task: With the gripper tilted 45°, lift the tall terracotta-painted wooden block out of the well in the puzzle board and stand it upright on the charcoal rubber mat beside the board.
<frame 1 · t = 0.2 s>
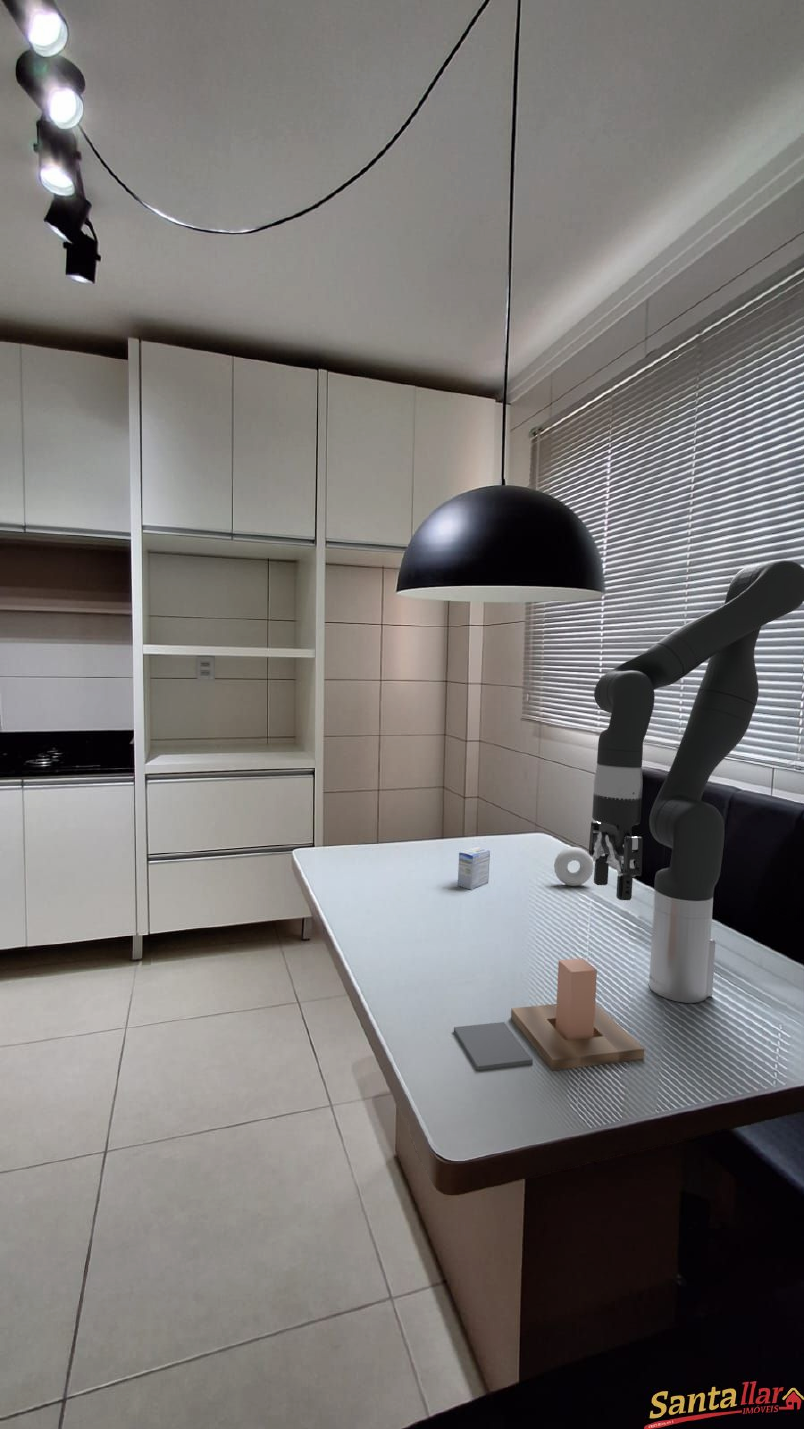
hand: (611, 891, 109), 18 cm above the table, tool pointing down, fingers open, 8 cm apart
block: (573, 1037, 99), resting in puzzle board
puzzle board: (574, 1037, 99), on the table
mat: (491, 1046, 95), on the table
donut: (572, 886, 170), on the table
medicine box: (473, 885, 169), on the table
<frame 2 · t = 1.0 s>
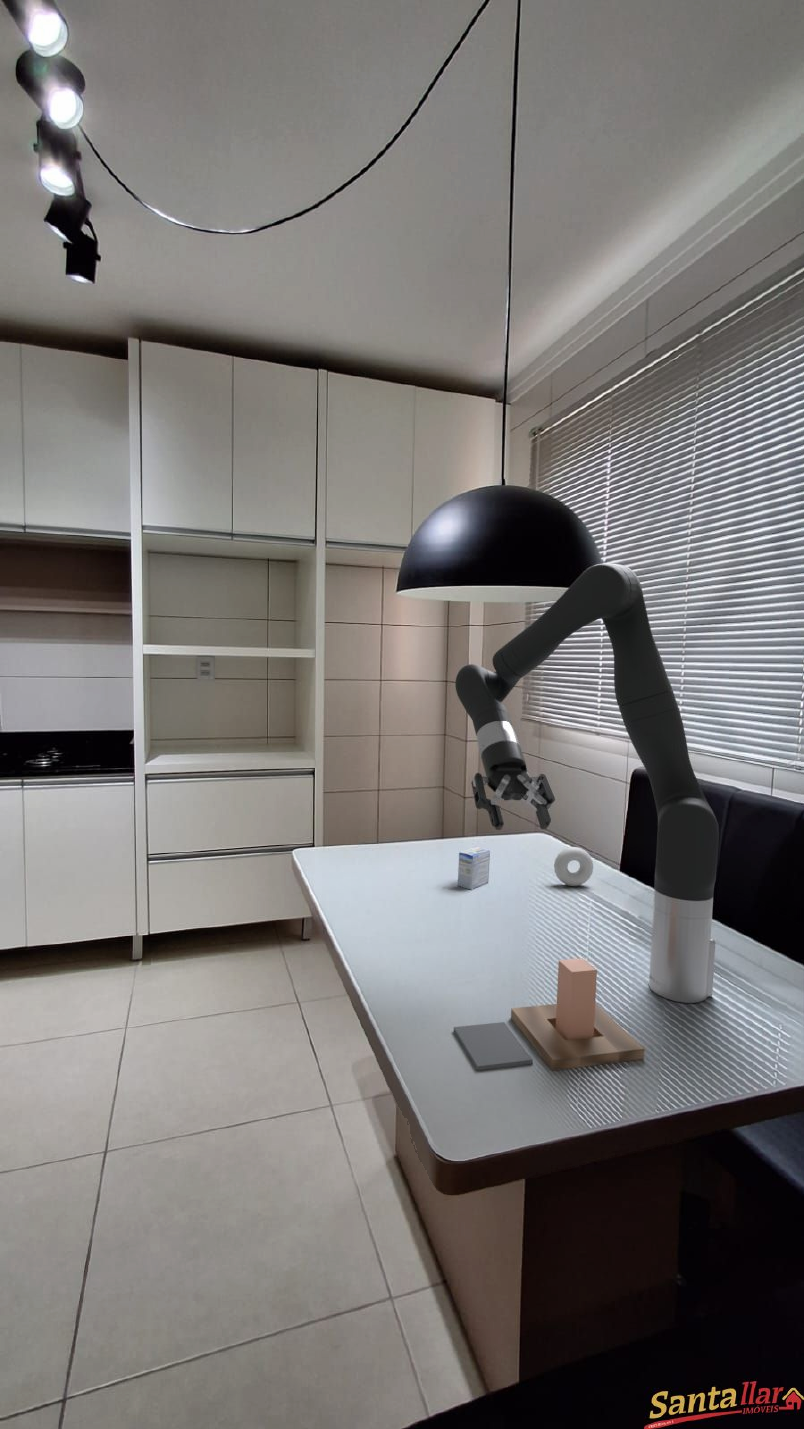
hand: (523, 827, 114), 27 cm above the table, tool tilted 45°, fingers open, 8 cm apart
nothing on the table moved.
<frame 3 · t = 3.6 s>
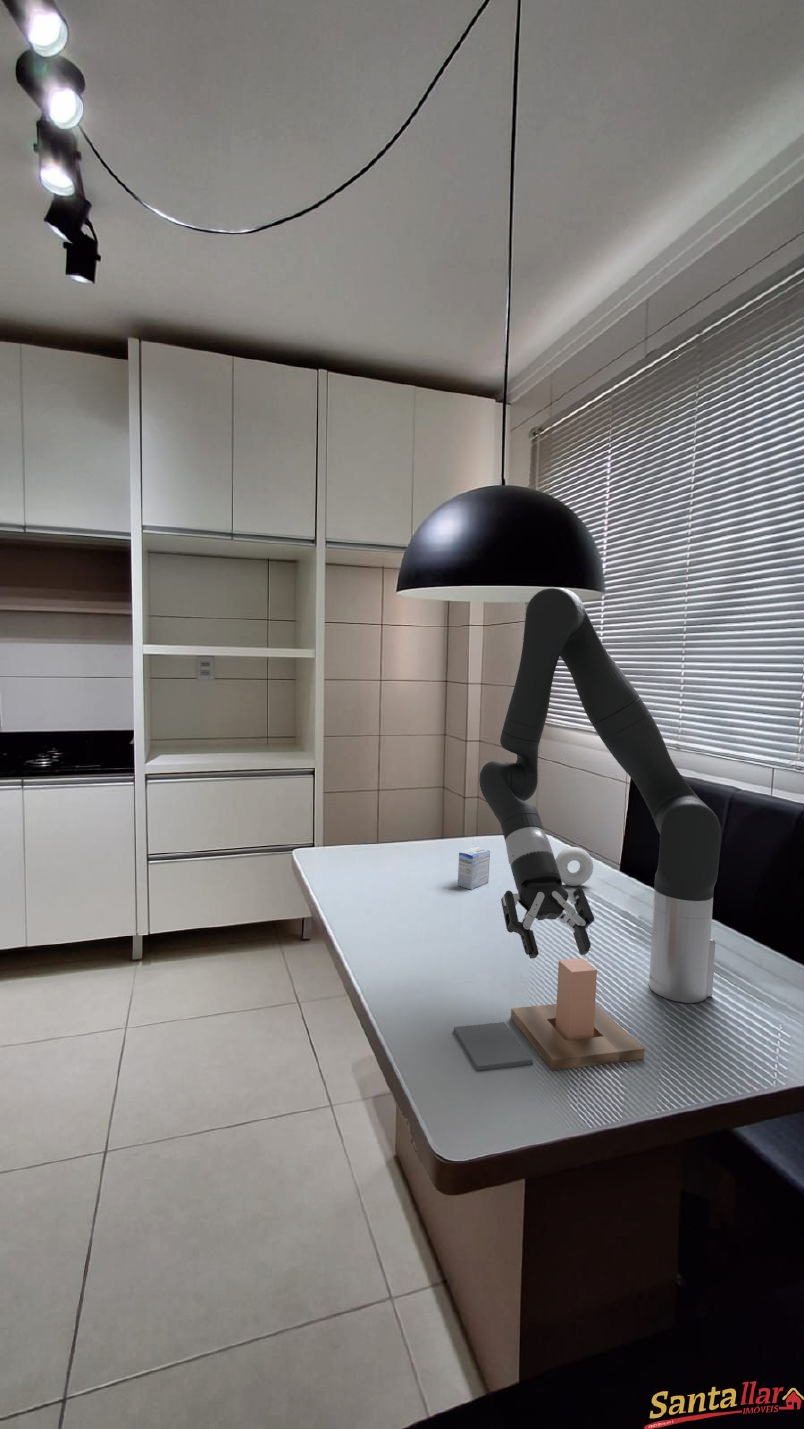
hand: (560, 954, 103), 10 cm above the table, tool tilted 45°, fingers open, 8 cm apart
nothing on the table moved.
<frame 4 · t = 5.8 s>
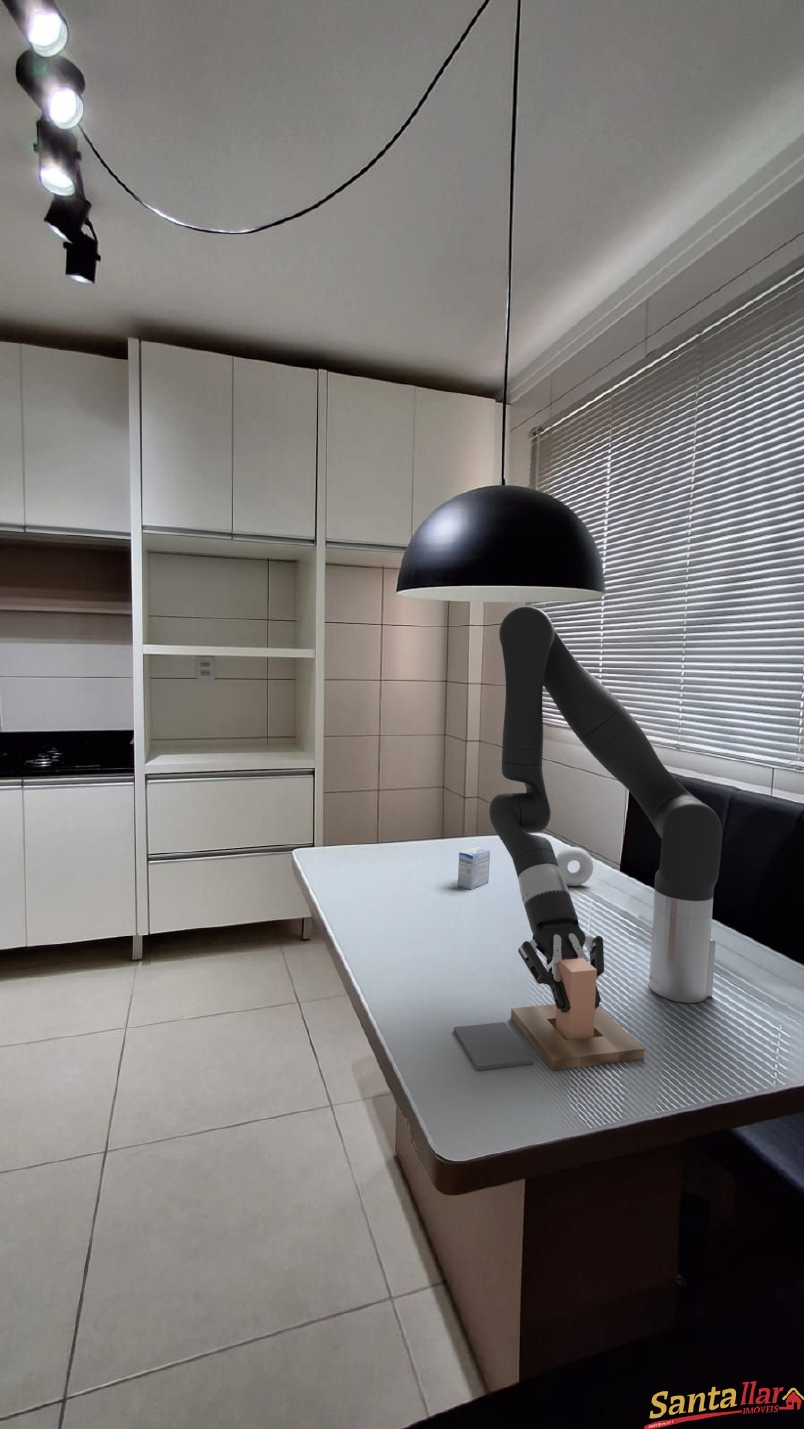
hand: (580, 1008, 97), 5 cm above the table, tool tilted 45°, fingers closed on block, 4 cm apart
block: (573, 1037, 99), resting in puzzle board, touching gripper
everything else where it was.
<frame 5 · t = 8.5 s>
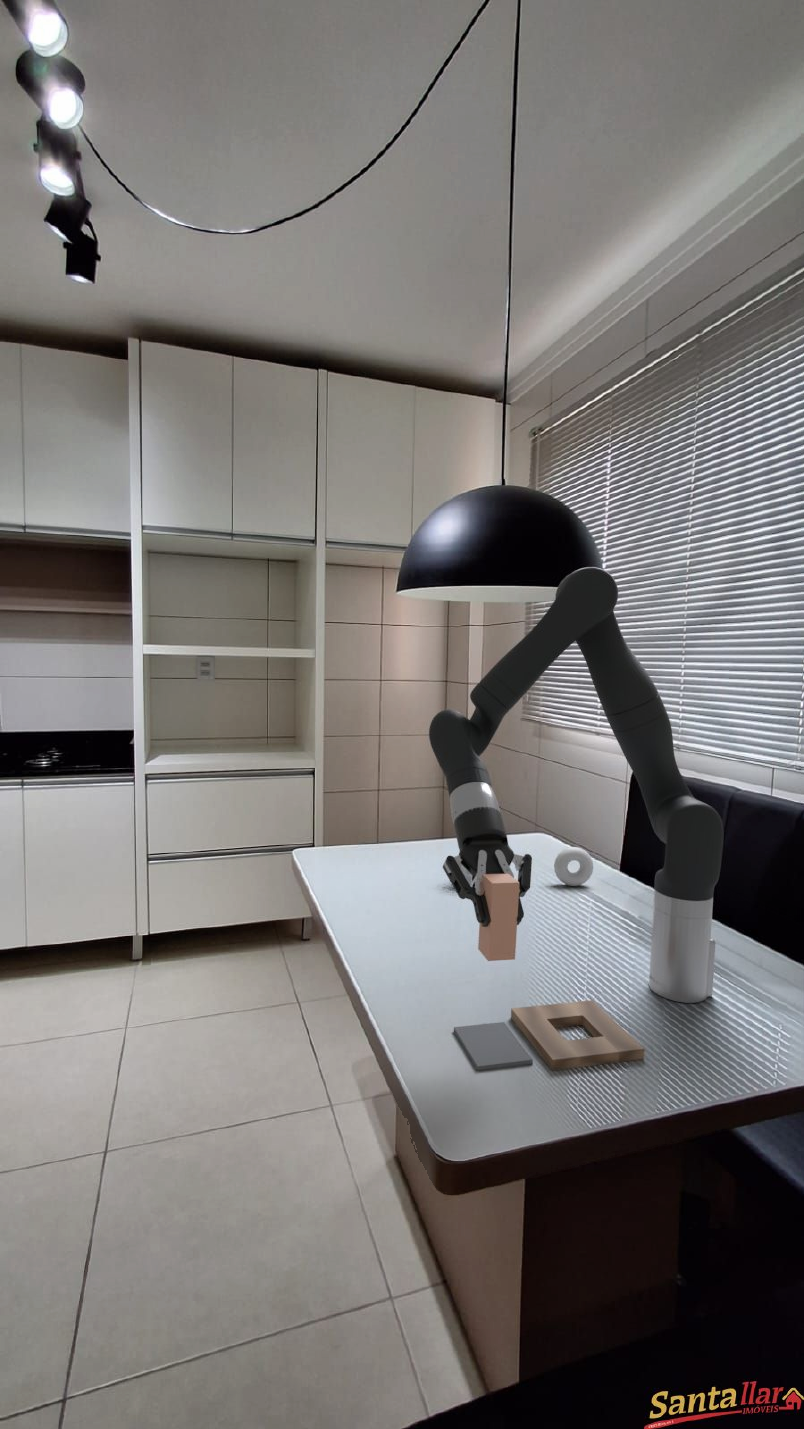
hand: (502, 923, 93), 18 cm above the table, tool tilted 45°, fingers closed on block, 4 cm apart
block: (496, 954, 95), point 13 cm above the table, touching gripper
everything else where it was.
when the fingers open (7 cm above the table, at t = 11.6 s): block drops 1 cm, resting on mat.
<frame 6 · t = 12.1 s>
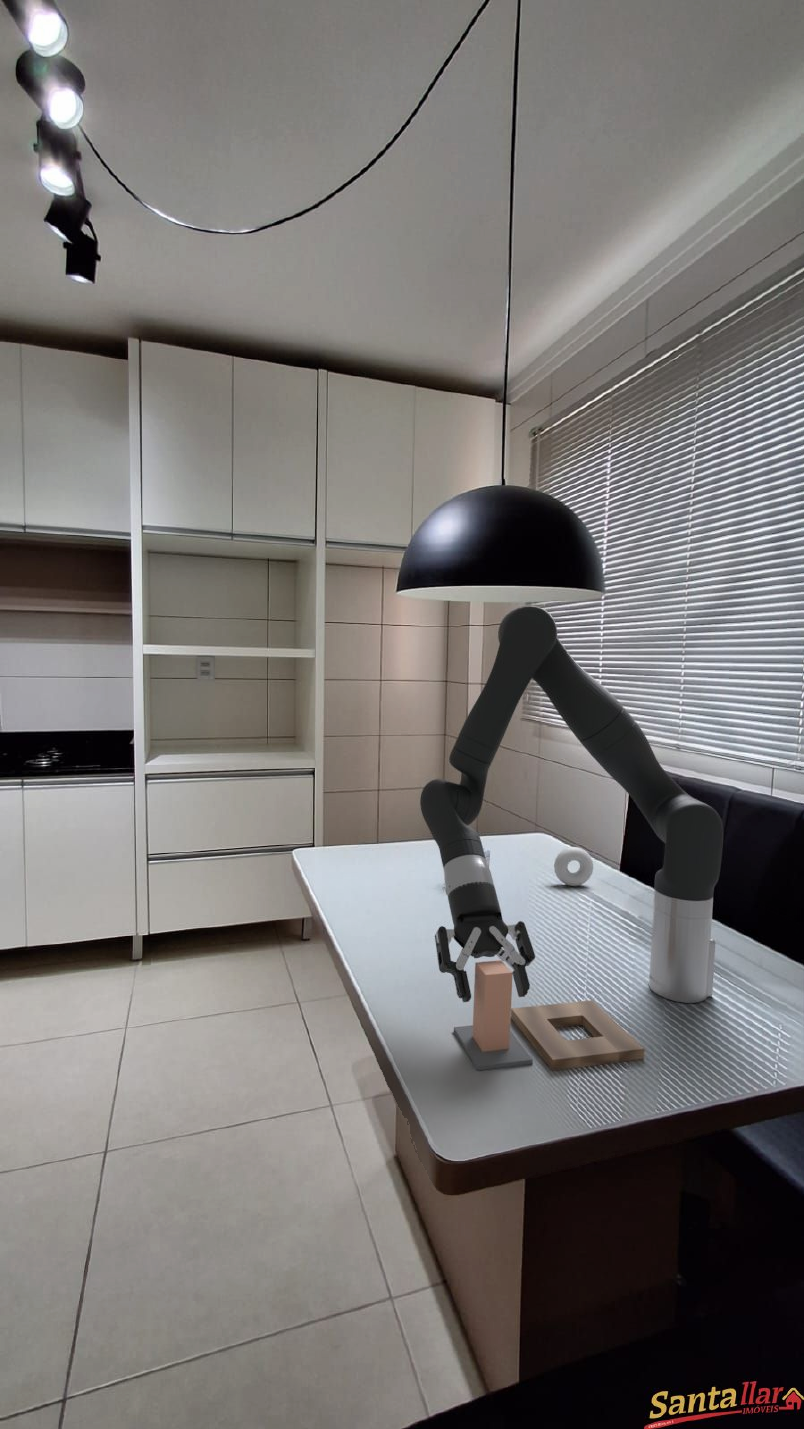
hand: (495, 997, 94), 8 cm above the table, tool tilted 45°, fingers open, 8 cm apart
block: (490, 1042, 95), point 1 cm above the table, touching mat
everything else where it was.
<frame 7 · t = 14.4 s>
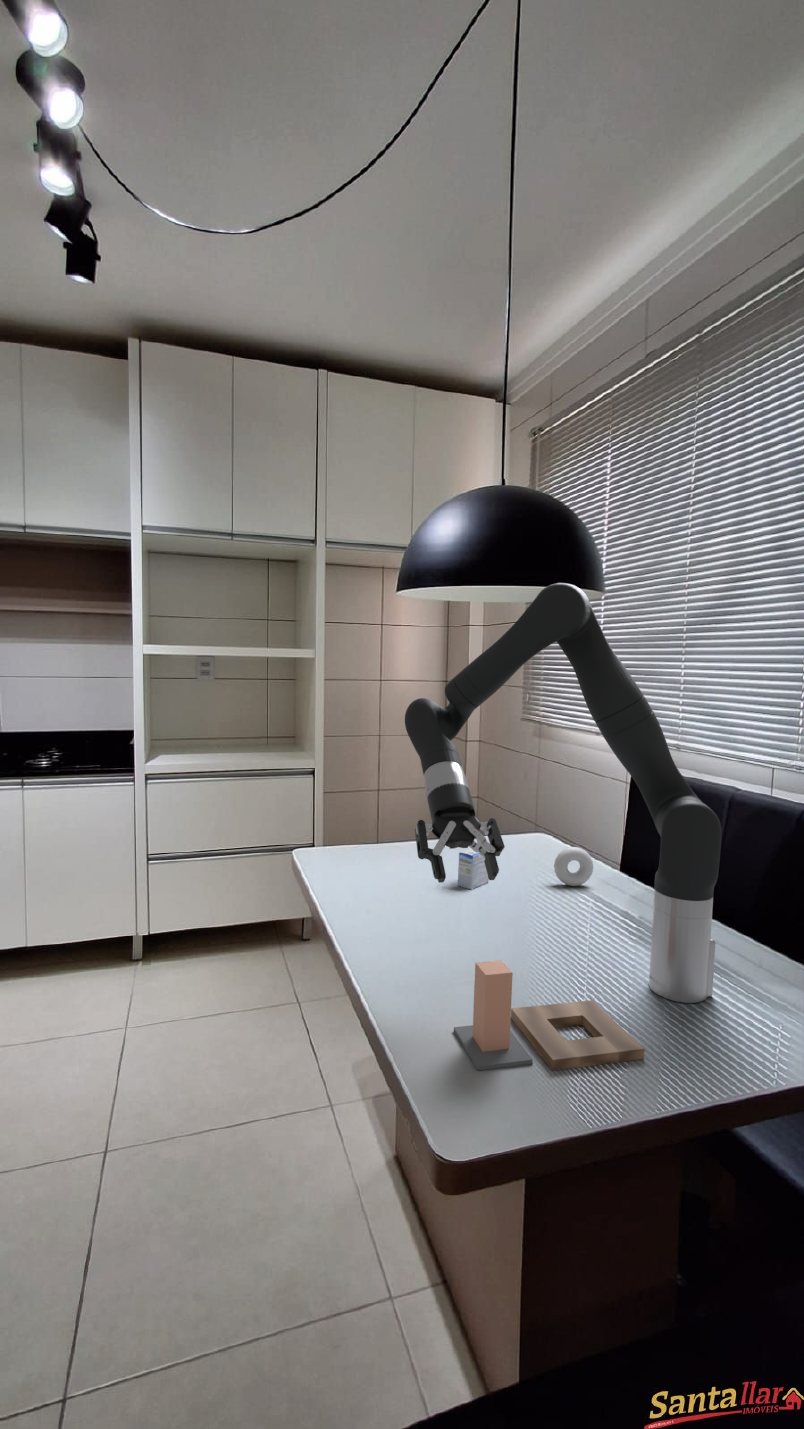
hand: (468, 879, 106), 21 cm above the table, tool tilted 45°, fingers open, 8 cm apart
nothing on the table moved.
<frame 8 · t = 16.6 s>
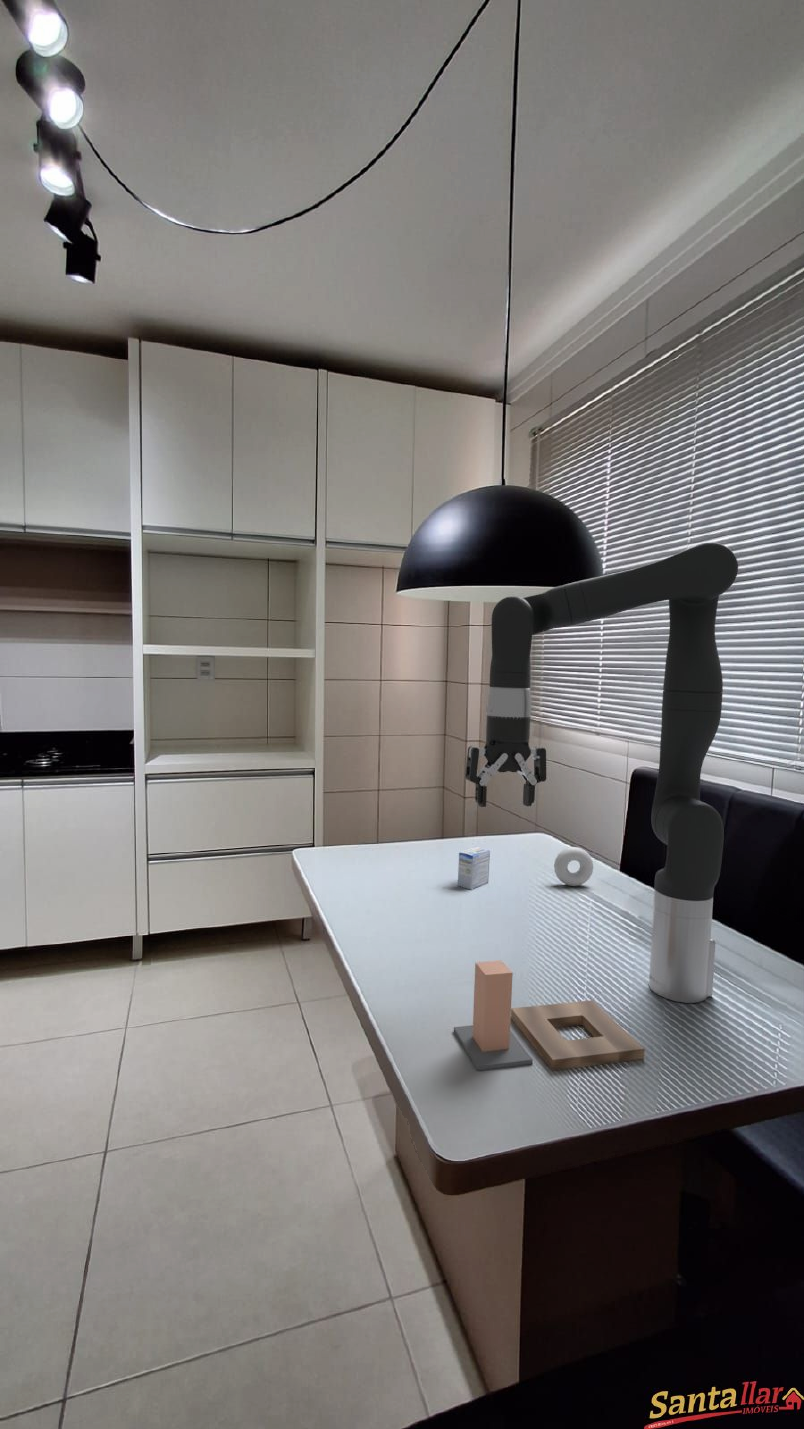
hand: (504, 805, 117), 30 cm above the table, tool pointing down, fingers open, 8 cm apart
nothing on the table moved.
at the end: block inside the target area on the mat (0.1 cm from its centre), point 0.6 cm above the mat's base; block tilted 0°; the gripper is holding nothing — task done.
